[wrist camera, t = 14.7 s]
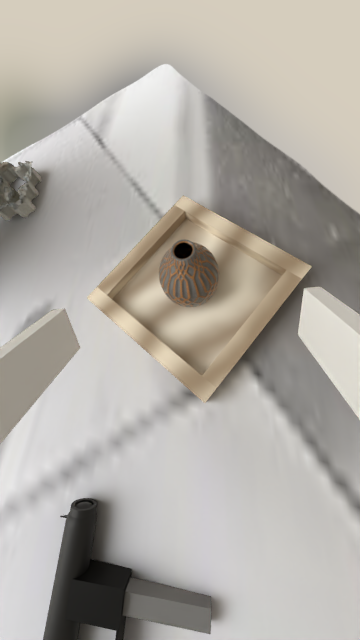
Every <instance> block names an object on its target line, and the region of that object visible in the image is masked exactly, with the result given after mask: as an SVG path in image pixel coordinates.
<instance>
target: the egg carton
mask: <svg viewBox="0 0 360 640" xmlns="http://www.w3.org/2000/svg"><path fill="white" fill-rule="evenodd" d="M25 162H26V163H21V162H18V164H19V165H20V166H18V167H14V166H13V165H12V164H10V163H8V162H3V163H0V216H1V217H2V218H4V219H5V220H6V221H8V220H11V219H12V217H13V216H14V215H16V214H19V215H20V216H21V217H22V218H27V217H28V216H29V214H30V213H32V212H34V211H35V209H36V207H35V206H34V205H33V203H32V202H31V201H32V200H33V199H34V198H35V197H37V196H38V194H39V192H38V191H37V190H36V188H35V185H36V184H37V183H39V182H41V180H42V178H41V176H40V175H39V174H38V173H37V172H36V171H35V170H34V169H33V168H32V167H31V164H32V162H33V161H32V162H29V161H25ZM19 177H20V178H21V179H22V180H23V181H27V182H26V183H24V185H22V186H21V187H20V188H19V189H18V192H17V191H16V190H15V189H14V188H11V187H10V184H11V183H13V182H14V181H15V180H16V178H19ZM9 203H10V204H9Z"/></svg>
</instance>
